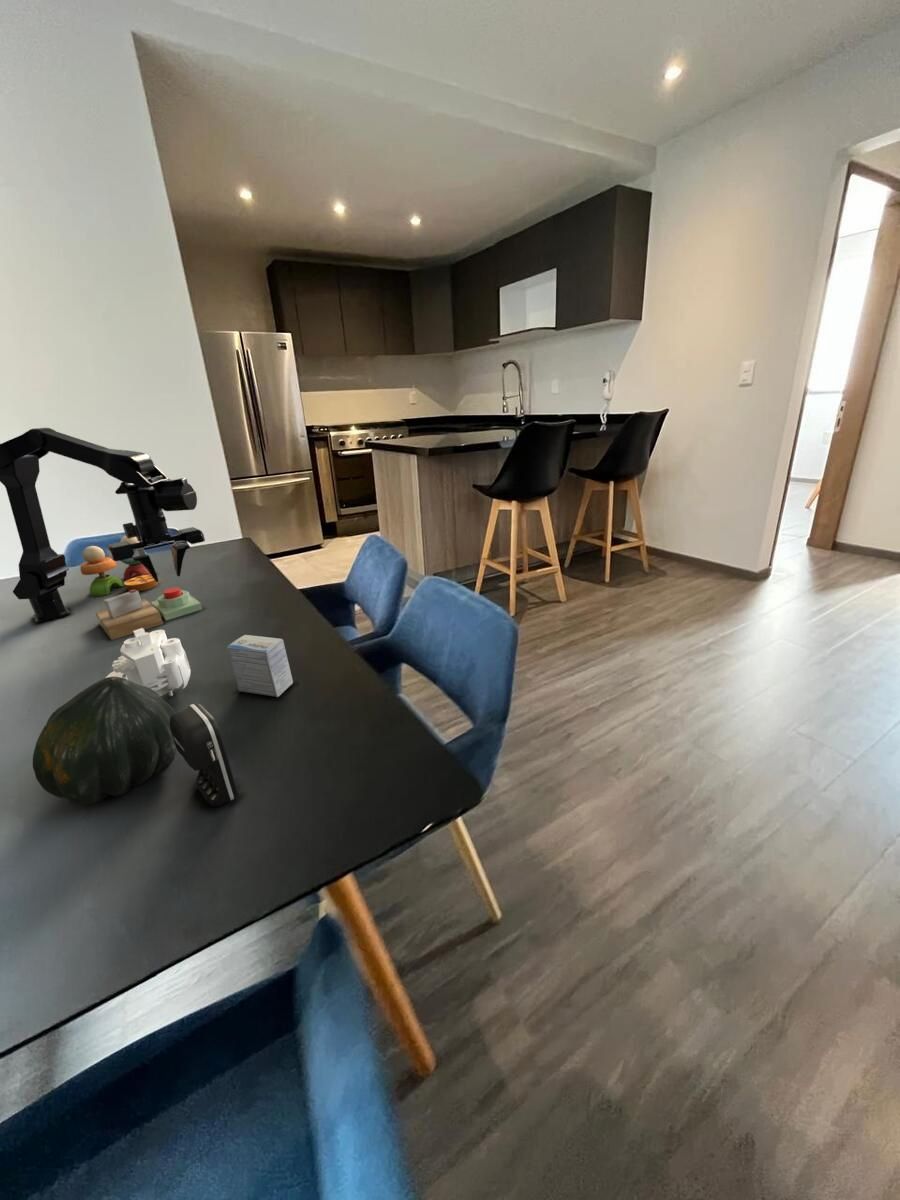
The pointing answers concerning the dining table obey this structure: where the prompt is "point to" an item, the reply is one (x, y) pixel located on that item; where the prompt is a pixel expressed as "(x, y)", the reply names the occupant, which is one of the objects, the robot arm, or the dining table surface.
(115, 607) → the grey block
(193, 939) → the dining table surface
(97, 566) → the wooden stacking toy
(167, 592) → the button
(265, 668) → the medicine box
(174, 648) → the mechanical part
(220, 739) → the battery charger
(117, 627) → the block
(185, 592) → the box
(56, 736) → the squash
